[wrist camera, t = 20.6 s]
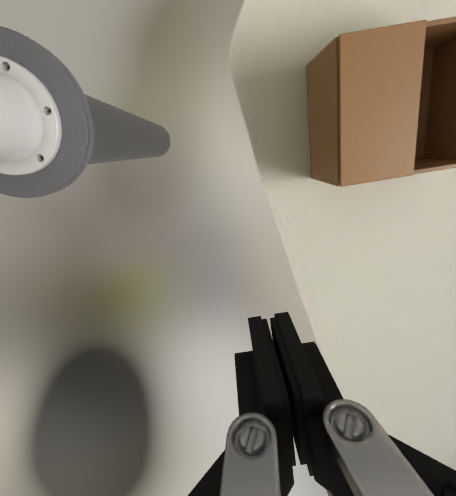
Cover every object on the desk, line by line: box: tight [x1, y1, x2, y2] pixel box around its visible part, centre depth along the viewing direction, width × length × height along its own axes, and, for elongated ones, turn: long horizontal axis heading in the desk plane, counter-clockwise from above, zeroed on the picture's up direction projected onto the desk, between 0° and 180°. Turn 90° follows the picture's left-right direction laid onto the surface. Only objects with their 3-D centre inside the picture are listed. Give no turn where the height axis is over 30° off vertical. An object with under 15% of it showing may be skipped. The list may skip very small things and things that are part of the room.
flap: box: [339, 20, 427, 187], centre depth 25 cm, size 7×13×1 cm, turn 9°
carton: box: [306, 17, 456, 186], centre depth 29 cm, size 15×13×8 cm
